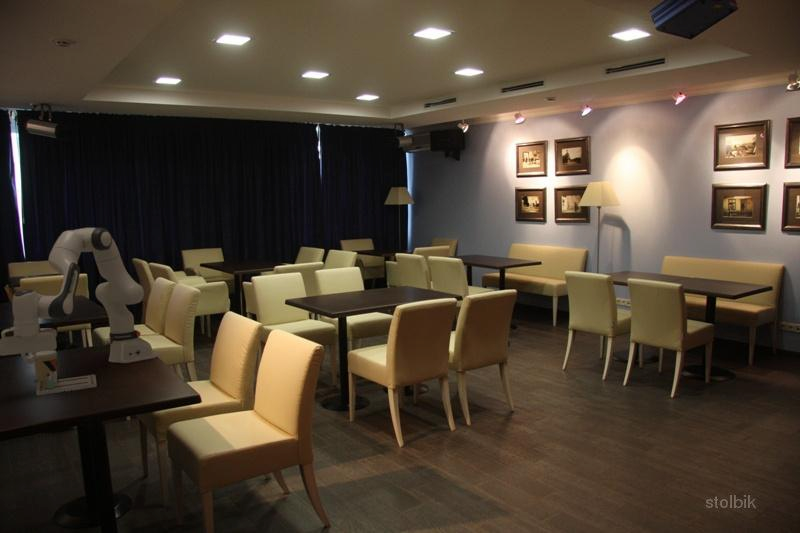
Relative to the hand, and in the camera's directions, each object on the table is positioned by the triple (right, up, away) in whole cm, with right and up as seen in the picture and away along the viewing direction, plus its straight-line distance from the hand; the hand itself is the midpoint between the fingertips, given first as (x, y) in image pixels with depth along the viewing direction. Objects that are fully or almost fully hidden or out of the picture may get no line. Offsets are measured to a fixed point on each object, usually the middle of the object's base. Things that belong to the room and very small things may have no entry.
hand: (29, 363), depth 246 cm
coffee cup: (-6, -11, +23) cm, 26 cm away
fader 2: (+3, -10, +12) cm, 16 cm away
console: (+9, -12, +11) cm, 19 cm away
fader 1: (+6, -11, +5) cm, 13 cm away
